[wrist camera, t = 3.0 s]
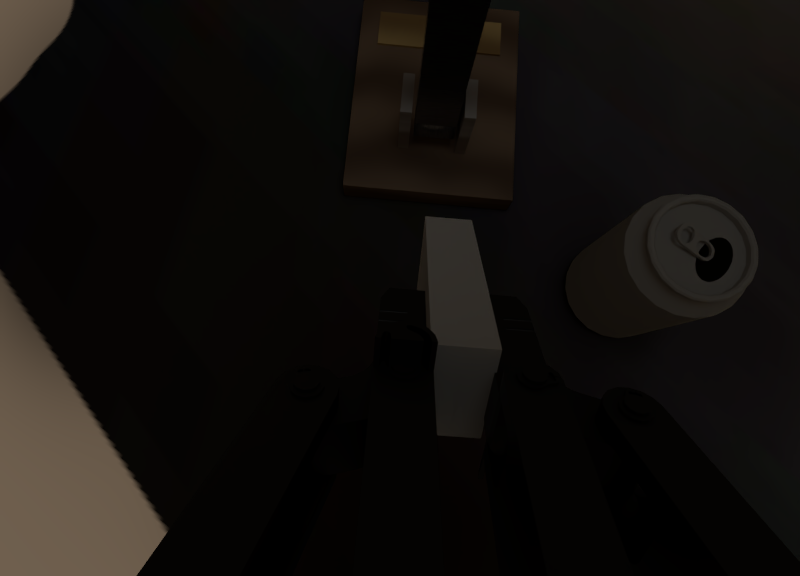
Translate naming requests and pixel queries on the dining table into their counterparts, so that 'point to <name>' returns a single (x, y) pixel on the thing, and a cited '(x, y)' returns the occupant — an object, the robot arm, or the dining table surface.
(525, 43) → the dining table surface
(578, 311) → the can
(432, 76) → the lever
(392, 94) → the press base
